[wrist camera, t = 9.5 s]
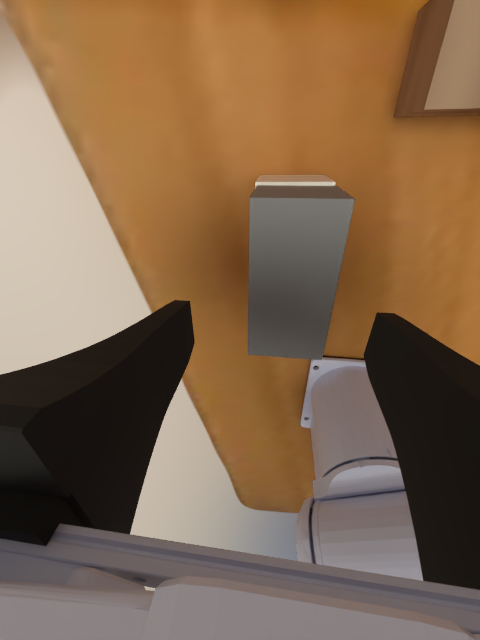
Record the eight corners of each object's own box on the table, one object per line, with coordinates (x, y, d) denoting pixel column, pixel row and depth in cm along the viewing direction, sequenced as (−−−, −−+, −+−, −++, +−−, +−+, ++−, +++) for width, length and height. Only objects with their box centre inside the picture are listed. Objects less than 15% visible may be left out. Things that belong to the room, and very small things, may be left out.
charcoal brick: (314, 320, 18) (322, 360, 15) (253, 316, 18) (247, 354, 15) (337, 185, 14) (354, 198, 10) (257, 185, 14) (249, 197, 11)
